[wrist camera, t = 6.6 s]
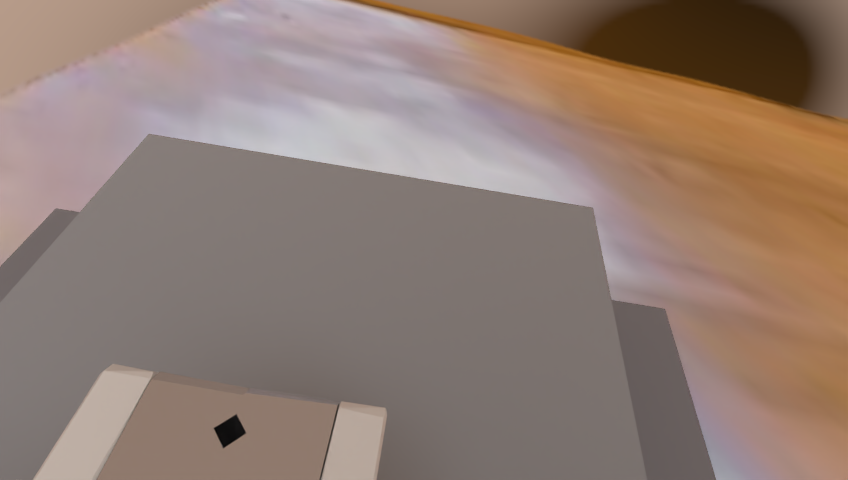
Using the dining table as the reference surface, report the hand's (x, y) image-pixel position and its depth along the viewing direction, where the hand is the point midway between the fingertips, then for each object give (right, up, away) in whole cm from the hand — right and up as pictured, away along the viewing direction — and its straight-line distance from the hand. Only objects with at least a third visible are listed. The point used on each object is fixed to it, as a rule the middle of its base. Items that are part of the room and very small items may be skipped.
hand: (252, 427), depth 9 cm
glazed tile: (-1, -4, +3) cm, 5 cm away
